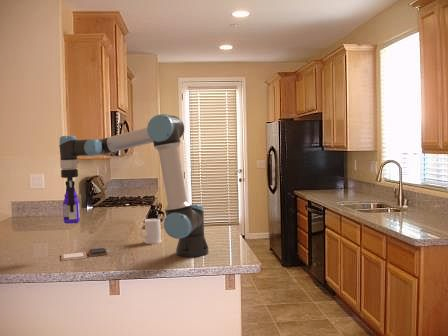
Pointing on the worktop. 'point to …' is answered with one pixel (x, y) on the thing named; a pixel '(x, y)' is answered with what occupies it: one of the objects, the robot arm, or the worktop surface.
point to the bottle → (66, 209)
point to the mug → (152, 231)
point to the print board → (73, 255)
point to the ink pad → (97, 252)
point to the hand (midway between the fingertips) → (71, 218)
